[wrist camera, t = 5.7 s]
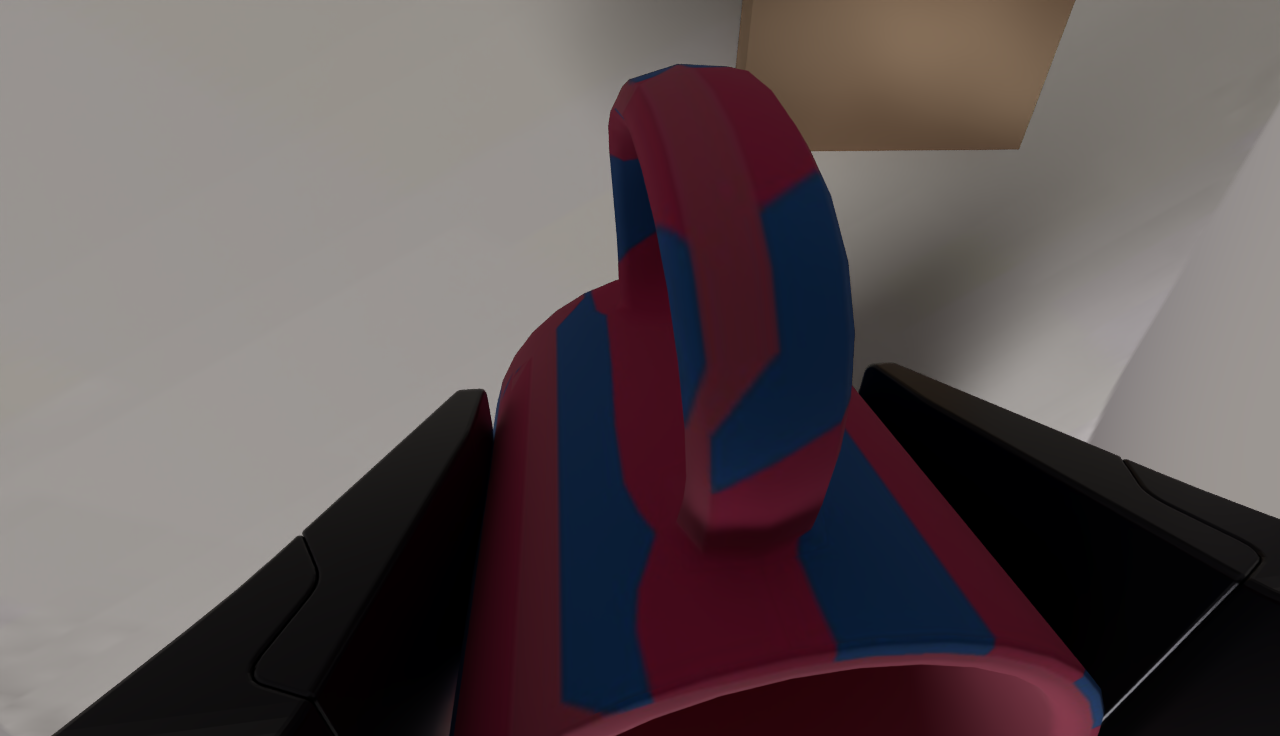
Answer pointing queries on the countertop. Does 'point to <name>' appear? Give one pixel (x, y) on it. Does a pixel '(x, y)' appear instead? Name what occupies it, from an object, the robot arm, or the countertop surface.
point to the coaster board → (904, 69)
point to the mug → (730, 482)
